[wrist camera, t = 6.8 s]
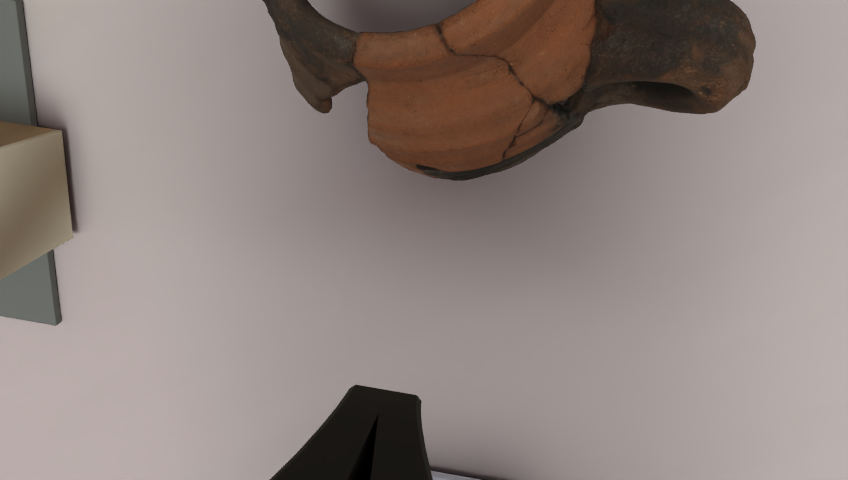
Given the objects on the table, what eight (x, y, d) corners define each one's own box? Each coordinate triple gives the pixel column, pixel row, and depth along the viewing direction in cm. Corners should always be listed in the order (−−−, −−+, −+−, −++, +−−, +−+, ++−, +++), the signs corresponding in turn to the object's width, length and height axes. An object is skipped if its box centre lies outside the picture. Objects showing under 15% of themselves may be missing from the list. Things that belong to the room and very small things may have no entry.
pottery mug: (327, 174, 21) (166, 88, 13) (391, -79, 21) (273, -308, 14) (691, 246, 17) (772, 189, 9) (756, -58, 18) (884, -351, 10)
